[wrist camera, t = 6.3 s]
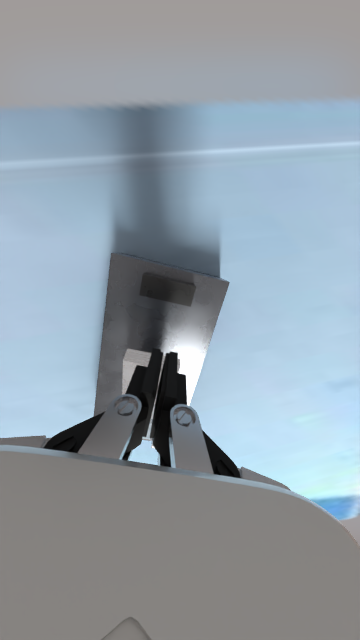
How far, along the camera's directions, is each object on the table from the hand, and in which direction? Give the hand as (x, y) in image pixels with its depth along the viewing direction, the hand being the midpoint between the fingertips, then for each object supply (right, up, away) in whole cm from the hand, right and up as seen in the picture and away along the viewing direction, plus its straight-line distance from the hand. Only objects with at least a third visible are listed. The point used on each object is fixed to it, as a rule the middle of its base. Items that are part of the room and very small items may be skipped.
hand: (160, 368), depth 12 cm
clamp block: (-2, -1, +13) cm, 14 cm away
